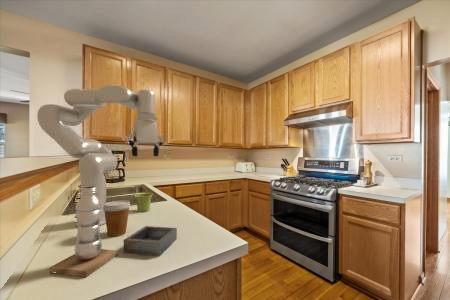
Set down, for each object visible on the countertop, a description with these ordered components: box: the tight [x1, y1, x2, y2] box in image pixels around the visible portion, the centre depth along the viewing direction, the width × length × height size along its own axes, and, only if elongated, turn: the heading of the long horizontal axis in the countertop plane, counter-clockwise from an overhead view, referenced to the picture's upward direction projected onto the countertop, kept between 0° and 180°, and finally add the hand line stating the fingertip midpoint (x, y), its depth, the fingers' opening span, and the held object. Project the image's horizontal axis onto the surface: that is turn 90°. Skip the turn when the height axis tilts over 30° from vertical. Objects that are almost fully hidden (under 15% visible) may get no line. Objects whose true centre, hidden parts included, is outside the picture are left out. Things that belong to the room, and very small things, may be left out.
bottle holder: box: [123, 225, 178, 257], centre depth 67 cm, size 12×12×4 cm
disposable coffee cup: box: [103, 199, 131, 238], centre depth 77 cm, size 10×10×12 cm
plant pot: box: [134, 192, 153, 213], centre depth 109 cm, size 9×9×9 cm
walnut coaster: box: [49, 248, 118, 278], centre depth 56 cm, size 11×11×2 cm
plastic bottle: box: [74, 186, 103, 260], centre depth 57 cm, size 6×7×20 cm
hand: (145, 156), depth 88 cm, fingers open, 9 cm apart
